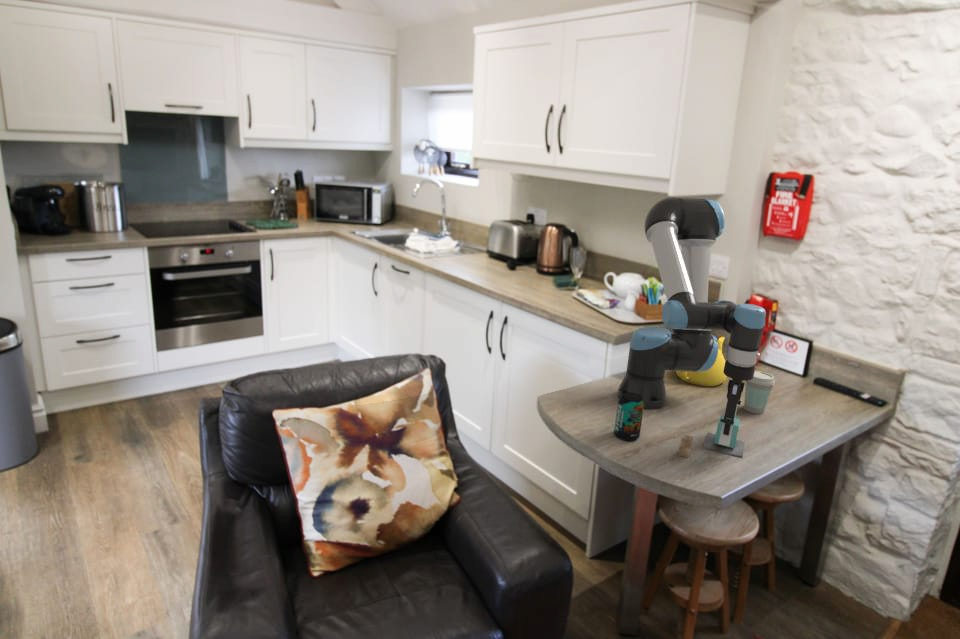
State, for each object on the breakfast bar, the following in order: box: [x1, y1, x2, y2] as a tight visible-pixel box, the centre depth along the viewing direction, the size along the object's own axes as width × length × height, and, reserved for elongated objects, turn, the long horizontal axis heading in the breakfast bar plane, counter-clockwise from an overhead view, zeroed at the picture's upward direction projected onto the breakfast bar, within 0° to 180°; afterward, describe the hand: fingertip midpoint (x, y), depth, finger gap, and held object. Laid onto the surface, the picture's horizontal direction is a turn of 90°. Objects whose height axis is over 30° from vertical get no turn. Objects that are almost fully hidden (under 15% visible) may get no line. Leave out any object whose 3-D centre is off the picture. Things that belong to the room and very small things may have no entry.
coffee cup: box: [743, 370, 776, 415], centre depth 197 cm, size 8×8×12 cm
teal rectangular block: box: [714, 414, 741, 448], centre depth 172 cm, size 5×5×7 cm
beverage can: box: [613, 392, 645, 442], centre depth 173 cm, size 7×7×12 cm
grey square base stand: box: [702, 432, 745, 458], centre depth 172 cm, size 10×10×7 cm
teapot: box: [675, 336, 728, 387], centre depth 222 cm, size 25×18×14 cm
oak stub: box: [677, 434, 694, 458], centre depth 166 cm, size 3×3×5 cm
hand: (726, 434), depth 172 cm, fingers open, 13 cm apart
